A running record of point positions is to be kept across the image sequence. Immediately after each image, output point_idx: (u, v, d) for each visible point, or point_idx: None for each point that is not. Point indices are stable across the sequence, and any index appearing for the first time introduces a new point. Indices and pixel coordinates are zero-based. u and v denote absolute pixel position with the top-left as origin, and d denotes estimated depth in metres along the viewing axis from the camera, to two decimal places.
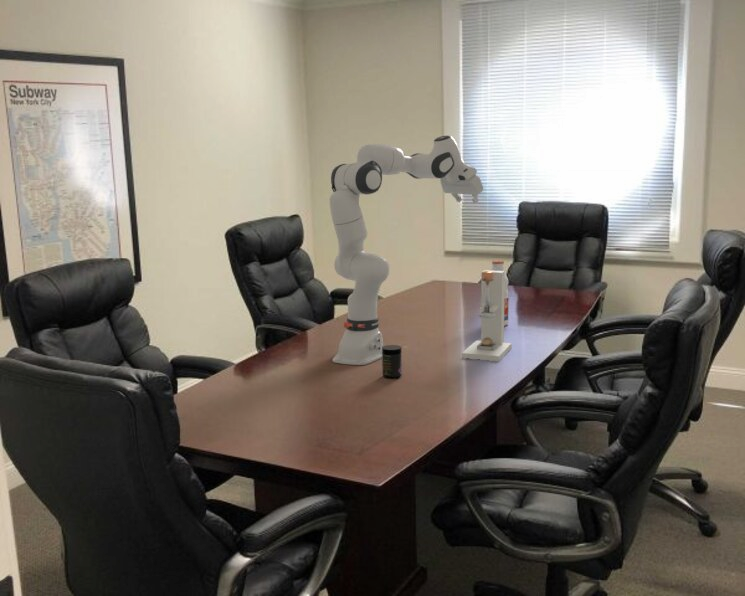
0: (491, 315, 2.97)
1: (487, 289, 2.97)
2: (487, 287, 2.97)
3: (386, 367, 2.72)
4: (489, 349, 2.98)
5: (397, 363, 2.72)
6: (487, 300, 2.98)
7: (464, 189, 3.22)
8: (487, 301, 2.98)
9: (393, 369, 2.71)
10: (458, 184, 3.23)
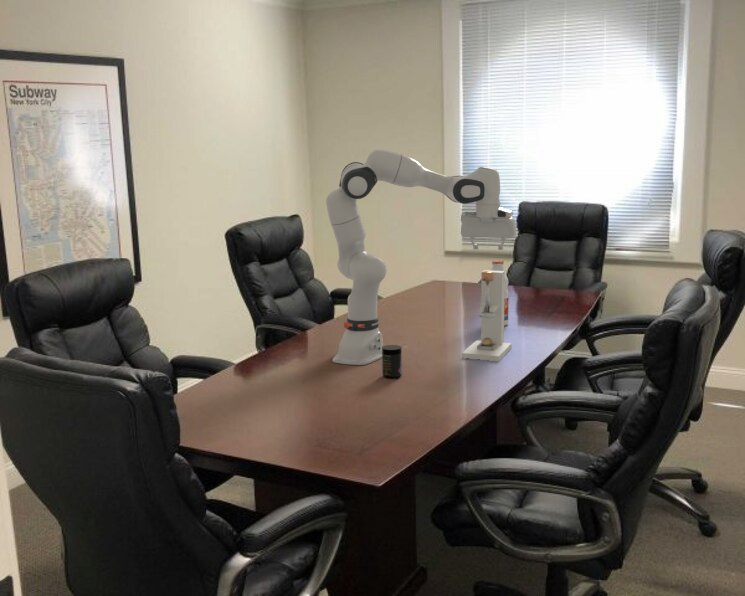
0: (491, 315, 2.97)
1: (487, 289, 2.97)
2: (487, 287, 2.97)
3: (386, 367, 2.72)
4: (489, 349, 2.98)
5: (397, 363, 2.72)
6: (487, 300, 2.98)
7: (494, 231, 2.92)
8: (487, 301, 2.98)
9: (393, 369, 2.71)
10: (488, 225, 2.92)
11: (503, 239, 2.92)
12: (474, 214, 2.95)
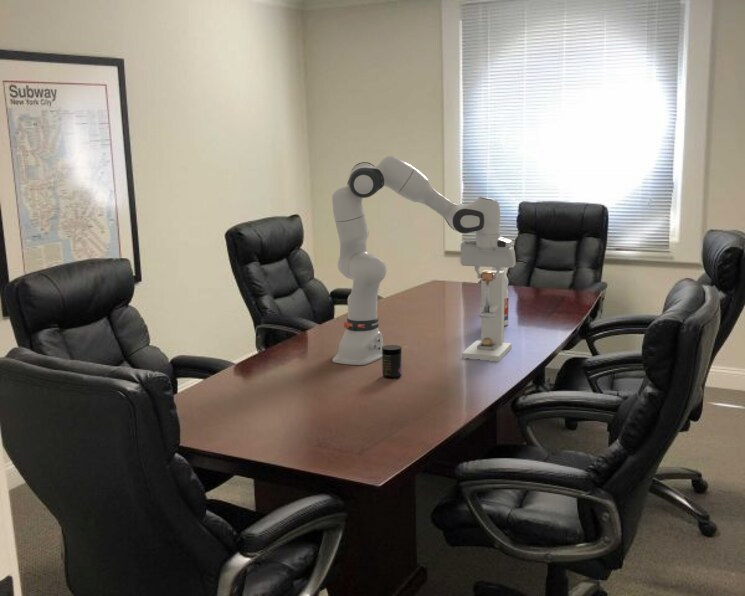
0: (491, 315, 2.97)
1: (487, 289, 2.97)
2: (487, 287, 2.97)
3: (386, 367, 2.72)
4: (489, 349, 2.98)
5: (397, 363, 2.72)
6: (487, 300, 2.98)
7: (493, 260, 2.93)
8: (487, 301, 2.98)
9: (393, 369, 2.71)
10: (487, 254, 2.94)
11: (498, 268, 2.94)
12: (474, 243, 2.96)
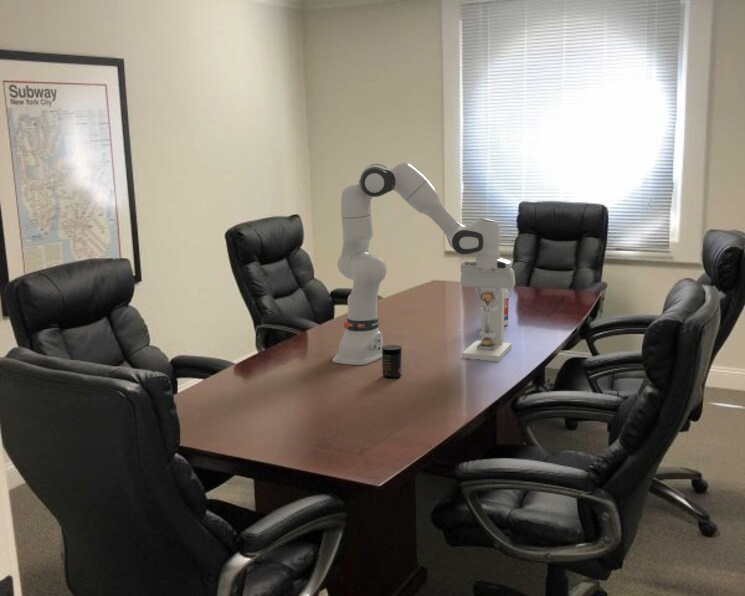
0: (491, 335, 2.98)
1: (487, 309, 2.99)
2: (487, 307, 2.98)
3: (386, 367, 2.72)
4: (489, 349, 2.98)
5: (397, 363, 2.72)
6: (487, 320, 2.99)
7: (493, 281, 2.94)
8: (487, 321, 2.99)
9: (393, 369, 2.71)
10: (487, 275, 2.95)
11: (497, 289, 2.95)
12: (474, 264, 2.97)
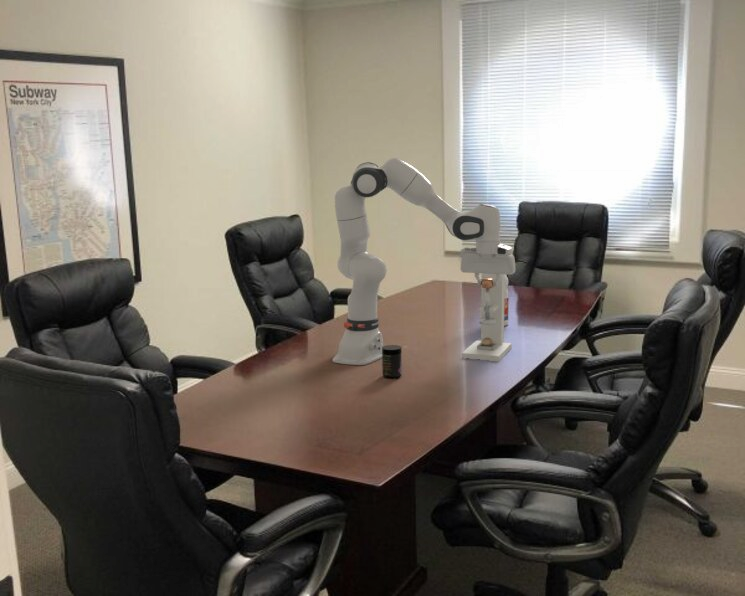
0: (491, 322, 2.97)
1: (487, 296, 2.98)
2: (487, 294, 2.97)
3: (386, 367, 2.72)
4: (489, 349, 2.98)
5: (397, 363, 2.72)
6: (487, 307, 2.98)
7: (493, 267, 2.93)
8: (487, 308, 2.98)
9: (393, 369, 2.71)
10: (487, 261, 2.94)
11: (498, 275, 2.94)
12: (474, 250, 2.96)
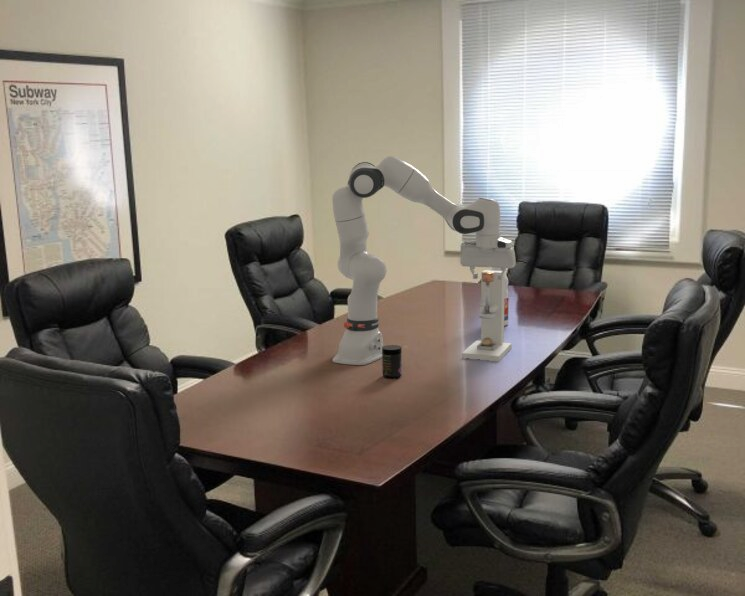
0: (491, 316, 2.97)
1: (487, 290, 2.97)
2: (487, 288, 2.97)
3: (386, 367, 2.72)
4: (489, 349, 2.98)
5: (397, 363, 2.72)
6: (487, 301, 2.98)
7: (493, 261, 2.93)
8: (487, 302, 2.98)
9: (393, 369, 2.71)
10: (487, 255, 2.94)
11: (503, 269, 2.93)
12: (474, 244, 2.96)
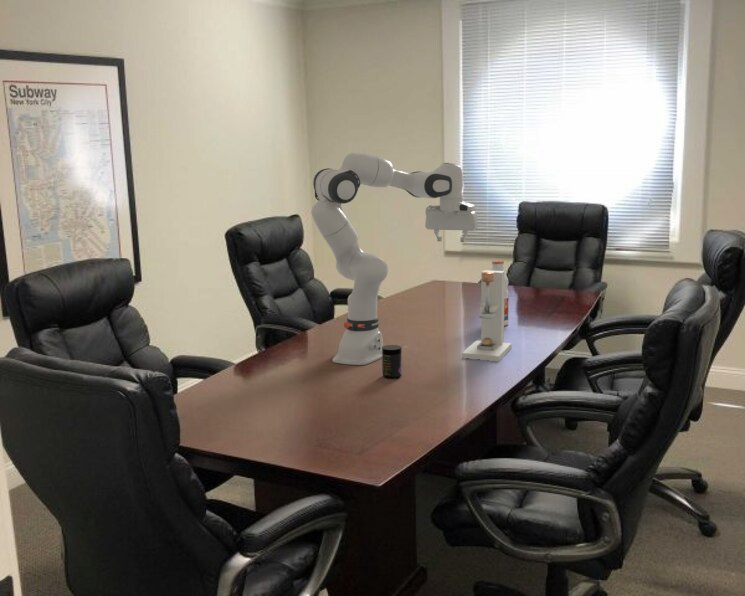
0: (491, 316, 2.97)
1: (487, 290, 2.97)
2: (487, 288, 2.97)
3: (386, 367, 2.72)
4: (489, 349, 2.98)
5: (397, 363, 2.72)
6: (487, 301, 2.98)
7: (456, 224, 3.06)
8: (487, 302, 2.98)
9: (393, 369, 2.71)
10: (451, 218, 3.07)
11: (465, 232, 3.06)
12: (438, 208, 3.09)
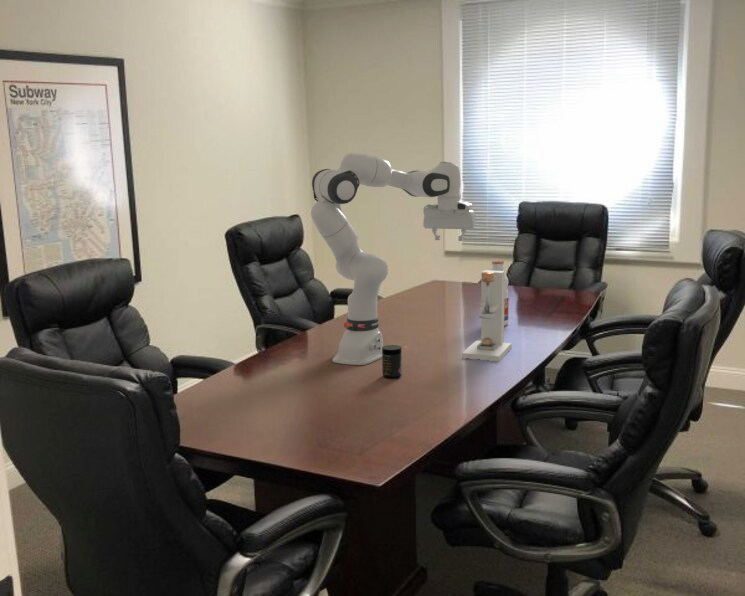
0: (491, 316, 2.97)
1: (487, 290, 2.97)
2: (487, 288, 2.97)
3: (386, 367, 2.72)
4: (489, 349, 2.98)
5: (397, 363, 2.72)
6: (487, 301, 2.98)
7: (454, 222, 3.06)
8: (487, 302, 2.98)
9: (393, 369, 2.71)
10: (448, 217, 3.07)
11: (463, 230, 3.07)
12: (436, 207, 3.09)
